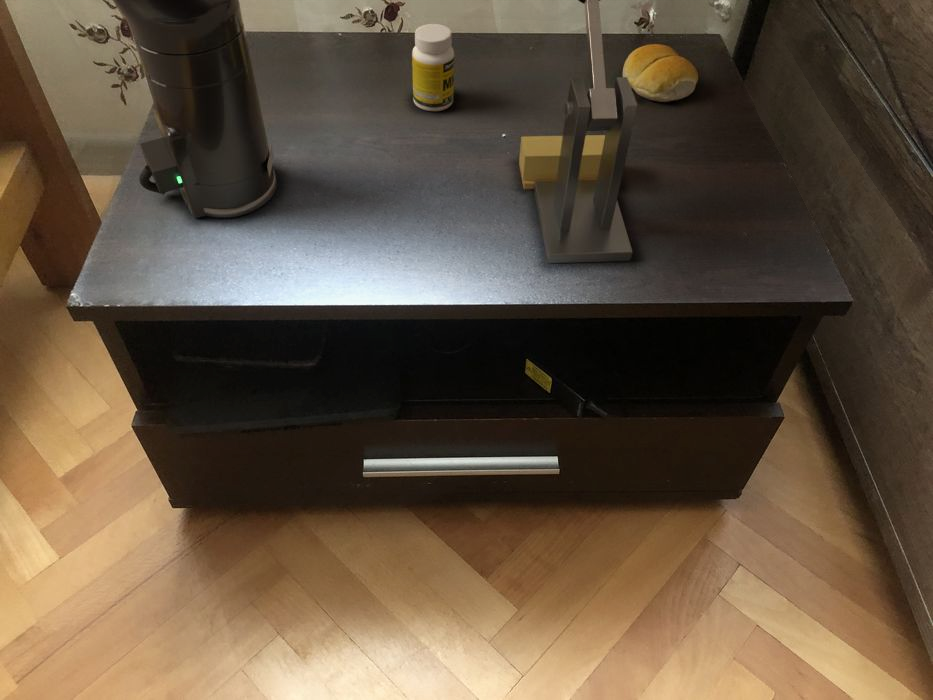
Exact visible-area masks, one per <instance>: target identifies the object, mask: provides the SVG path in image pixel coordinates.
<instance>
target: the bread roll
mask: <svg viewBox="0 0 933 700" xmlns="http://www.w3.org/2000/svg"><path fill="white" fill-rule="evenodd" d="M622 77H627V78H628V81H629V83H630V86H631V89H632V90H633V91H634V92H635V93H636V94H637V95H638V96H640V97H641V98H644V99H647V100H649V101H655V102H661V103H666V102H673V101H679V100H682V99H685V98H687V97H689V96H690V95H691V94H692V93H693V92H694V91H695V88H696V85H697V83H698V80H699V73H698V71H697V68H696V67H695V66H694V64H692V63H691V62H690V61H689V60H688V59H686V58H685V57H683V56H680V55H679V54H678V53H677V51H675V49H674V48H672V47H671V46H668V45H667V44H666V45H665V44H659V43H653V44H652V43H651V44H646V45H642V46H640V47H637V48H636V49H634V50H633V51H632V52H631V53H630V54H629V55H628V56H627V58H626V59H625V62H624V64H623V69H622Z"/></svg>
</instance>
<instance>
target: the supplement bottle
mask: <svg viewBox="0 0 933 700" xmlns="http://www.w3.org/2000/svg"><path fill="white" fill-rule="evenodd" d="M452 39H453V38H452V31H451V28H449V27H448V26H446V25H443V24H439V23H427V24H423V25H421V26H419V27H417V28H416V29H415V32H414V47H413V48H412V51H411V58H412V59H411V63H412V100H413V103H414V104H415V106H416V107H418V108H419V109H421V110H424V111H427V112H441V111H444V110H446V109H448V108H450V107H451V106H452V105H453V102H454V94H455V93H454V91H455V51H454V48H453V46H452V43H453V40H452Z"/></svg>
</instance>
